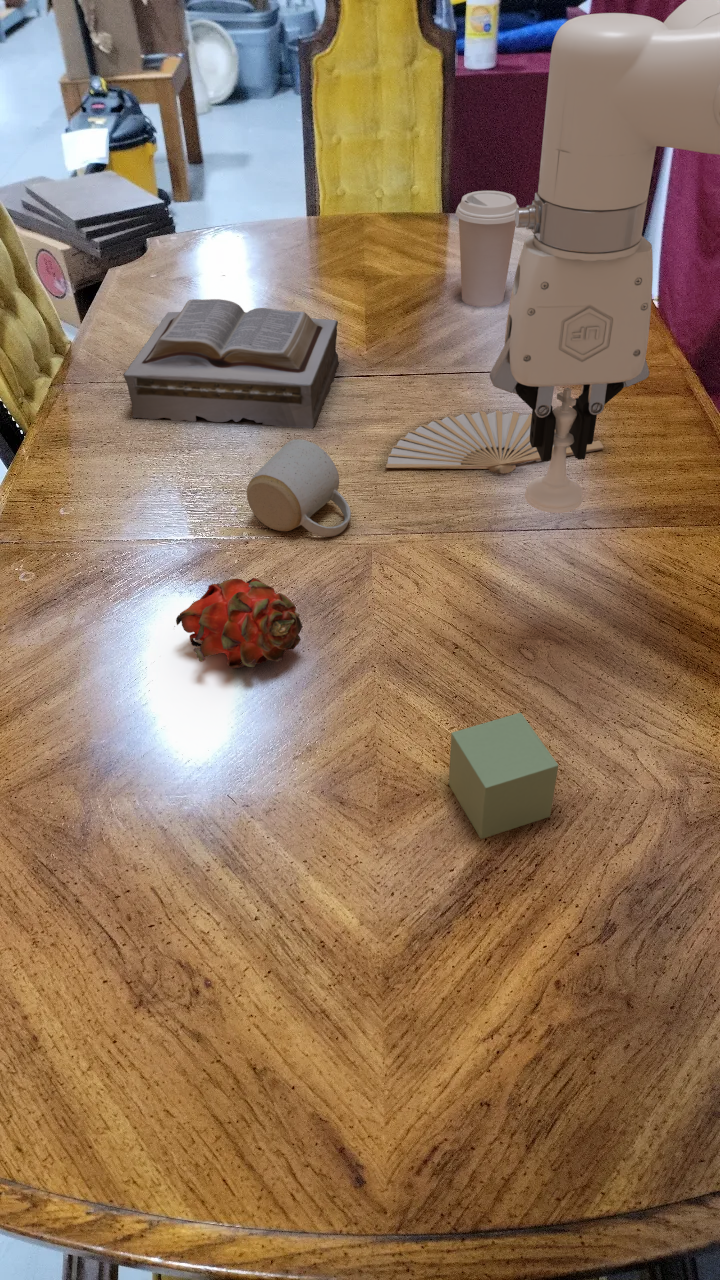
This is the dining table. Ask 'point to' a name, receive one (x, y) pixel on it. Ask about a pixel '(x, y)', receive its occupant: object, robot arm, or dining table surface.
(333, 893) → the dining table surface
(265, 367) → the bible
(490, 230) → the coffee cup
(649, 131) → the robot arm
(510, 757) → the block
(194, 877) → the dining table surface
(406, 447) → the hand fan
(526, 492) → the chess piece
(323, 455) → the ceramic mug
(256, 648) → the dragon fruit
